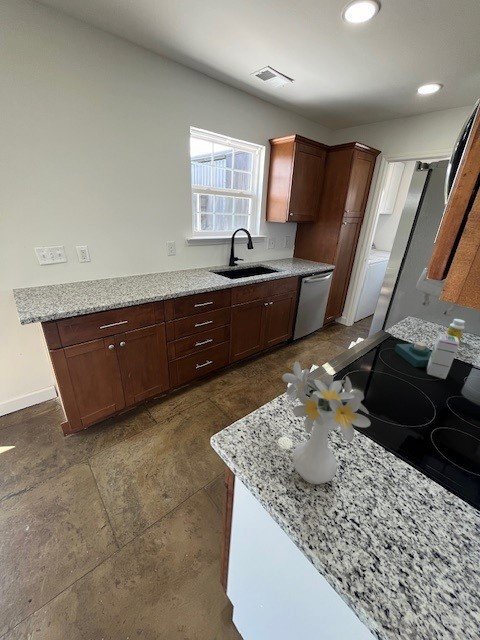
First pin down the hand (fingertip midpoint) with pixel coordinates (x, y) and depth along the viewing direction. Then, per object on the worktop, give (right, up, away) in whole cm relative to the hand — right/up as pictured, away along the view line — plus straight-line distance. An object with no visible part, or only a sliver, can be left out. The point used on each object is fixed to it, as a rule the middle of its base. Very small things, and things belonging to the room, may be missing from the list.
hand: (435, 310), depth 94 cm
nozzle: (0, -15, +9) cm, 17 cm away
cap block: (0, -19, +11) cm, 22 cm away
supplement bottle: (+27, -13, +27) cm, 40 cm away
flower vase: (-55, -37, -35) cm, 75 cm away
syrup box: (+1, -23, +2) cm, 23 cm away
